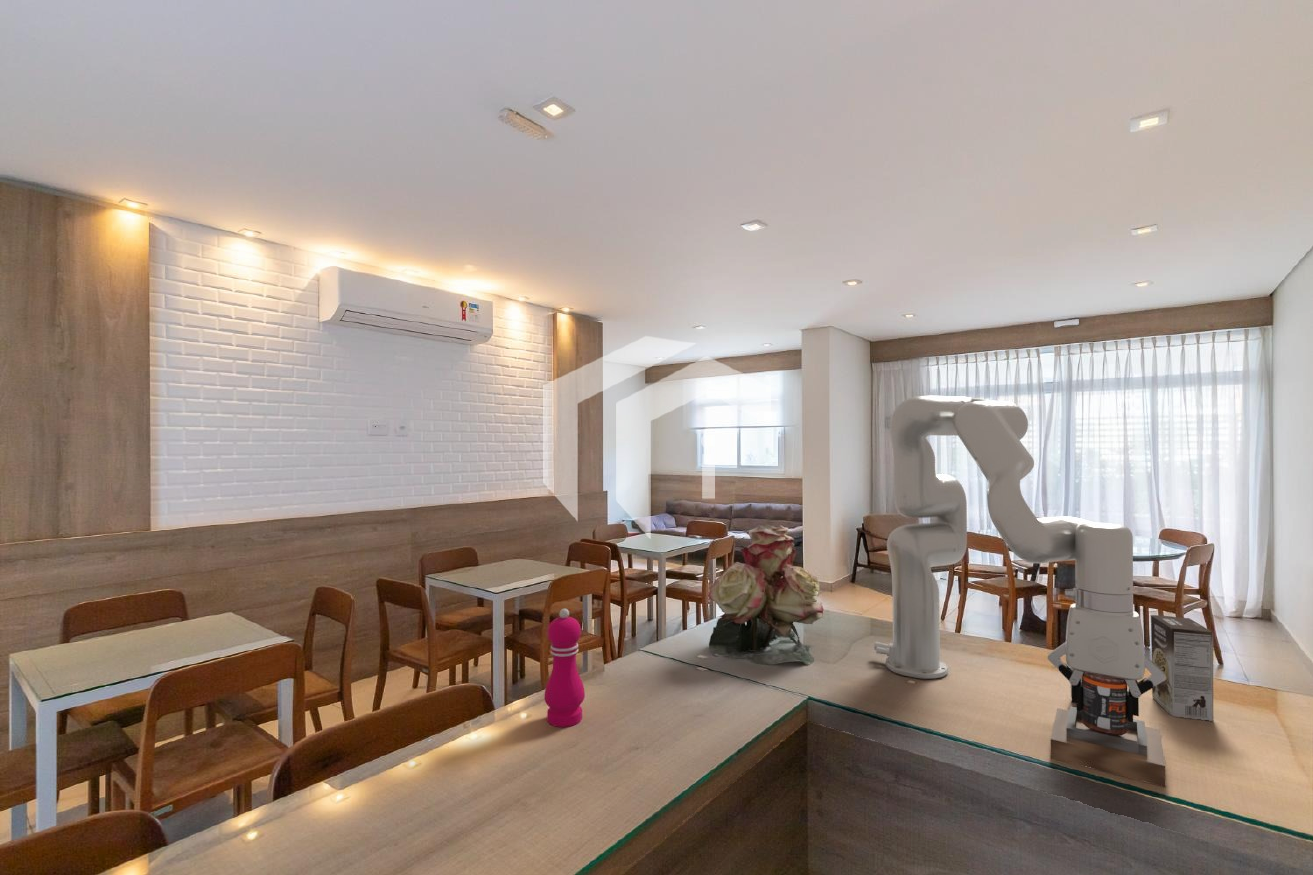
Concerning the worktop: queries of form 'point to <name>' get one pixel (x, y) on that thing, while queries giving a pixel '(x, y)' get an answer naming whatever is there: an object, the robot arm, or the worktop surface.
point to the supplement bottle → (1104, 704)
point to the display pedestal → (1109, 748)
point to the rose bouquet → (765, 601)
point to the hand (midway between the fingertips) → (1104, 712)
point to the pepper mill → (564, 673)
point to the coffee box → (1183, 666)
